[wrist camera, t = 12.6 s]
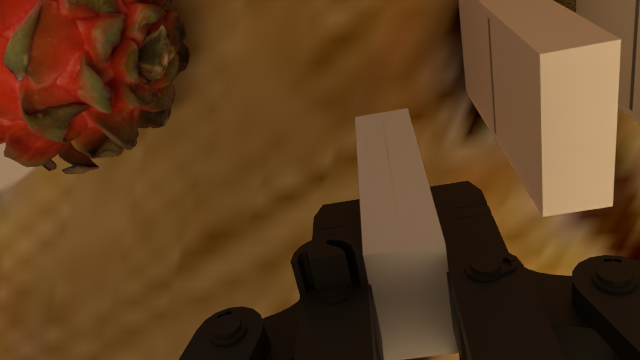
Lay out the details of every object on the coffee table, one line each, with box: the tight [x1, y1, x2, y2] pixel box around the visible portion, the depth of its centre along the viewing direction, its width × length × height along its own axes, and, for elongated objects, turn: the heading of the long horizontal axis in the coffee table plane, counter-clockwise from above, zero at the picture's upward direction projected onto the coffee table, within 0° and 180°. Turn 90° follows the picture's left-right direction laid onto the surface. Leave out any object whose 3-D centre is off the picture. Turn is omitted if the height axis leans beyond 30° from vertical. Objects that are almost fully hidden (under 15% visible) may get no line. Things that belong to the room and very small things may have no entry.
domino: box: [458, 0, 621, 217], centre depth 20 cm, size 2×5×11 cm, turn 11°
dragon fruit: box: [0, 0, 190, 174], centre depth 23 cm, size 8×8×12 cm
